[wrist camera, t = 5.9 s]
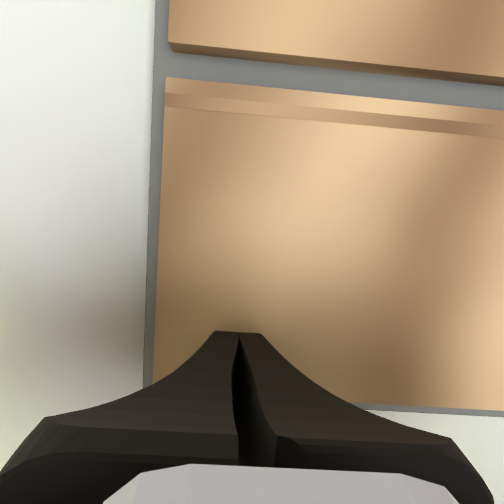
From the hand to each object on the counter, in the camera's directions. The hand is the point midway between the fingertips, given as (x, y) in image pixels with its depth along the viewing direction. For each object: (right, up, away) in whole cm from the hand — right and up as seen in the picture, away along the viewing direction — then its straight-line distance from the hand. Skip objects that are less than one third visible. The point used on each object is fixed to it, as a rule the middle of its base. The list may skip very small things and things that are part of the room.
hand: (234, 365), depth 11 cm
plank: (+6, +3, +1) cm, 6 cm away
